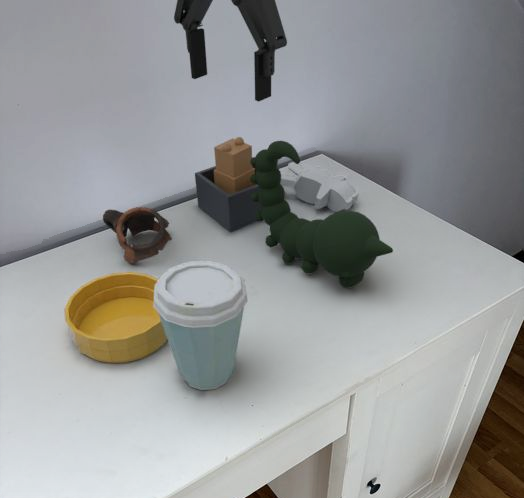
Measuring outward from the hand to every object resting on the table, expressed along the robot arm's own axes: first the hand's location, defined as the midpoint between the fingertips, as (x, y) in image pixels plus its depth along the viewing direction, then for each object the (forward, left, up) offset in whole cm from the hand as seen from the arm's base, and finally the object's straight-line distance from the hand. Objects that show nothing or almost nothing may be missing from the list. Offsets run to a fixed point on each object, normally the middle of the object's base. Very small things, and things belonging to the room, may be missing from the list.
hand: (230, 87), depth 86 cm
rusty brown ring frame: (-4, -19, -21) cm, 29 cm away
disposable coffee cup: (+25, -31, -21) cm, 45 cm away
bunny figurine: (+8, +12, -21) cm, 26 cm away
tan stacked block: (0, 0, -20) cm, 20 cm away
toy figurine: (+21, -4, -21) cm, 30 cm away
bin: (0, 0, -21) cm, 21 cm away
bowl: (+10, -33, -21) cm, 40 cm away
